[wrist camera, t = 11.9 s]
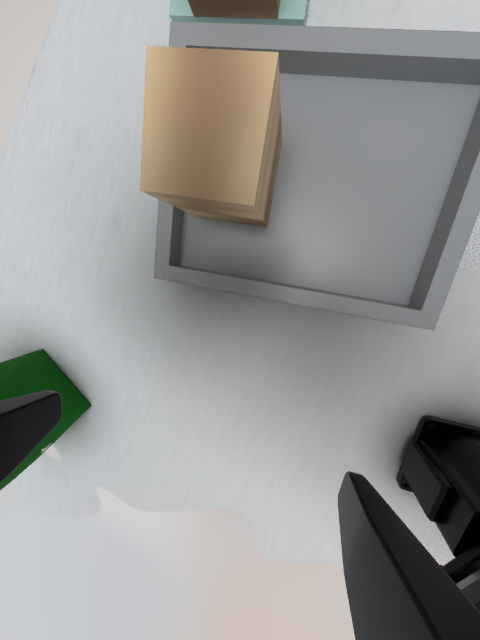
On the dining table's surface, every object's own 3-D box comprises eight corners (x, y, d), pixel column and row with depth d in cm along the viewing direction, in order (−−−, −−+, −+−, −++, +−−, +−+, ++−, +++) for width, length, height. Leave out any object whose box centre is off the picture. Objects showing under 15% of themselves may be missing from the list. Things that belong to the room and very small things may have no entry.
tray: (501, 74, 13) (547, 34, 11) (413, 320, 17) (433, 330, 15) (188, 57, 16) (170, 21, 13) (170, 275, 20) (153, 277, 17)
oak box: (282, 142, 15) (278, 51, 9) (267, 227, 17) (254, 205, 10) (205, 134, 16) (146, 45, 9) (197, 216, 17) (140, 190, 11)
